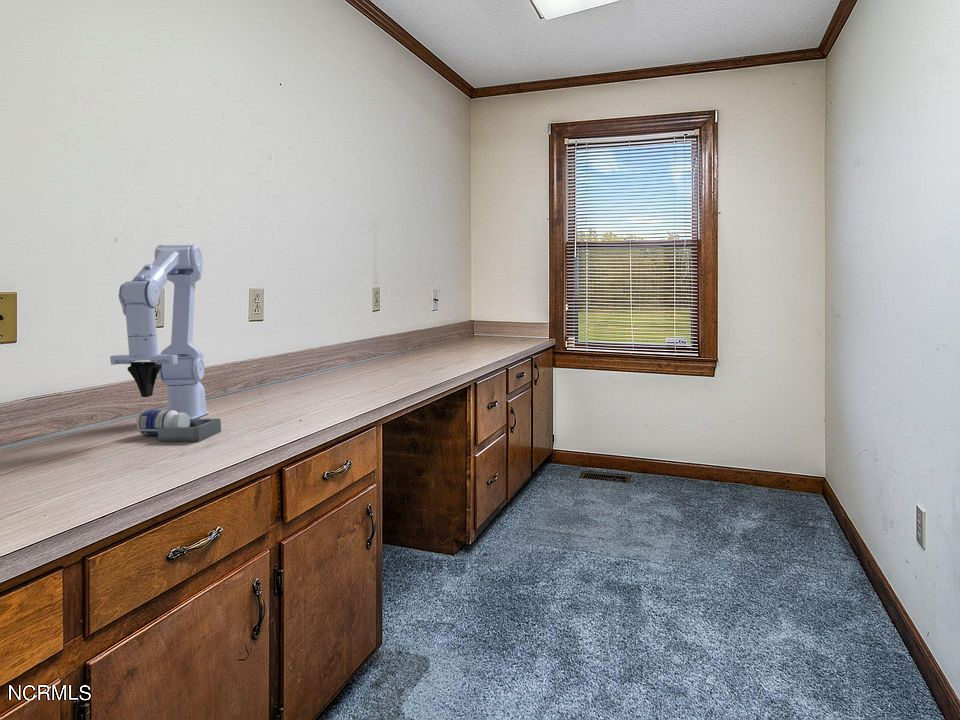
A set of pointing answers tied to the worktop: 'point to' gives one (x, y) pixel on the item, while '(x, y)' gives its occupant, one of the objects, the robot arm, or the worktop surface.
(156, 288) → the robot arm
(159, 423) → the pill bottle
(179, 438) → the metal u-channel bracket
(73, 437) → the worktop surface
